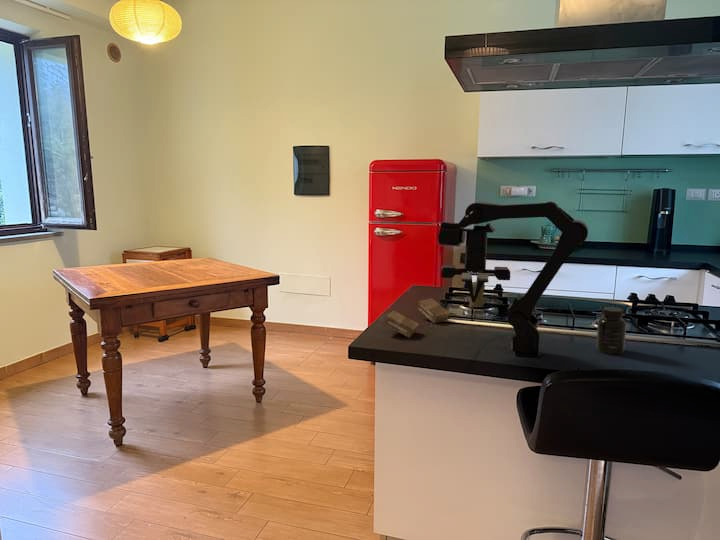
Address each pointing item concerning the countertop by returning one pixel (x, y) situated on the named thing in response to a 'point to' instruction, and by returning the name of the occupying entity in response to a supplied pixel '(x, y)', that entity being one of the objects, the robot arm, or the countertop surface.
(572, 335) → the countertop surface
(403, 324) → the block one
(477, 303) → the cork
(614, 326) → the supplement bottle
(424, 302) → the block two
